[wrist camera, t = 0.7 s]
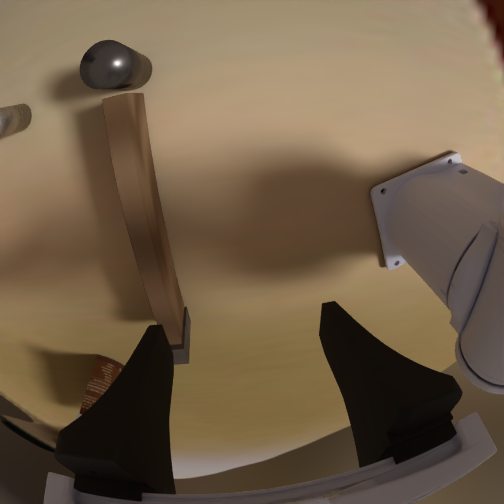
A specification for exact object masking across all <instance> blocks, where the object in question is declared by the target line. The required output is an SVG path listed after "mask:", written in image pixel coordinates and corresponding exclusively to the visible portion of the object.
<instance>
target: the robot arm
mask: <svg viewBox="0 0 504 504" xmlns="http://www.w3.org/2000/svg"><path fill="white" fill-rule="evenodd" d="M448 160H449V163H448ZM383 188H384V191H383V192H382V193H381V190H382V189H383ZM370 195H371V199H372V203H373V208H374V212H375V216H376V220H377V225H378V230H379V234H380V239H381V244H382V249H383V254H384V260H385V265H386V268H387V269H388V270H393V269H395V268H397V267H399V266H401V265H403V264H405V263H408V264H409V265H410V266H411V267H412V268H413V269H414V270H415V271H416V272H417V274H418V275H419V276H420V277H421V278H422V279H423V280H424V281H425V282H426V283H427V285H428V286H429V287H430V288H431V289H432V290H433V291H434V292H435V294H436V295H437V296H438V297H439V298H440V299H441V301H442V302H443V303H444V304H445V305H446V306H447V308H448V309H449V310H450V311H451V314H452V317H451V321H450V324H451V325H452V327H453V328H454V329H455V330H456V332H457V333H458V334H459V335H458V337H457V340H456V344H455V355H456V359H457V363H458V365H459V367H460V369H461V371H462V372H463V374H464V375H465V376H466V377H467V379H468V380H469V381H471V382H472V383H473V384H474V385H475V386H477V387H479V388H480V389H482V390H484V391H487V392H490V393H494V394H504V184H503V183H501V182H499V181H497V180H495V179H494V178H492V177H490V176H488V175H486V174H484V173H482V172H480V171H477V170H475V169H473V168H471V167H469V166H467V165H465V164H463V163H462V159H461V155H460V153H458V152H453V153H451V154H448V155H446V156H444V157H441V158H439V159H437V160H434V161H432V162H430V163H427V164H425V165H423V166H420V167H418V168H416V169H413V170H411V171H409V172H407V173H404V174H402V175H400V176H397V177H395V178H393V179H390V180H388V181H386V182H384V183H381V184H379V185H377V186H374V187H373V188H372V189H371V192H370ZM396 261H397V262H396ZM395 262H396V263H395ZM319 336H320V340H321V343H322V347H323V350H324V353H325V356H326V358H327V361H328V363H329V365H330V368H331V370H332V372H333V374H334V377H335V379H336V381H337V384H338V386H339V388H340V391H341V393H342V396H343V399H344V402H345V406H346V409H347V413H348V416H349V420H350V424H351V428H352V431H353V436H354V440H355V445H356V450H357V456H358V460H359V467H360V468H358V469H355V470H352V471H348V472H345V473H341V474H338V475H334V476H330V477H326V478H322V479H318V480H314V481H309V482H304V483H300V484H295V485H290V486H283V487H277V488H272V489H264V490H256V491H247V492H236V493H224V494H200V495H199V494H198V495H178V494H176V491H175V485H174V478H173V471H172V462H171V451H170V433H169V415H170V404H171V395H172V385H173V376H174V357H173V352H172V349H171V347H170V344H169V341H168V339H167V336H166V333H165V331H164V328H163V325H162V324H160V325H149V327H148V328H147V330H146V332H145V333H144V335H143V337H142V339H141V340H140V342H139V344H138V345H137V347H136V349H135V350H134V352H133V354H132V355H131V357H130V359H129V360H128V362H127V363H126V365H125V366H124V368H123V369H122V371H121V372H120V373H119V375H118V376H117V378H116V379H115V380H114V382H113V383H112V384H111V385H110V387H109V388H108V389H107V390H106V391H105V392H104V394H103V395H102V396H101V397H100V398H99V399H98V400H97V401H96V402H95V403H94V404H93V405H92V406H91V407H90V408H89V409H88V410H87V411H86V412H84V413H83V414H82V415H81V416H80V417H79V418H77V419H76V420H75V421H73V422H72V423H71V424H69V425H68V426H66V427H65V428H64V429H62V430H61V431H60V432H59V436H58V440H57V444H56V449H55V455H54V457H55V458H56V460H57V461H58V462H59V463H61V464H62V465H63V466H65V467H66V468H68V469H69V470H71V471H72V472H74V473H75V479H73V478H70V477H67V476H63V475H59V474H55V473H51V472H49V473H48V478H47V484H46V490H45V497H44V504H413V503H415V502H417V501H419V500H421V499H423V498H425V497H427V496H429V495H431V494H433V493H435V492H436V491H438V490H440V489H442V488H444V487H446V486H447V485H449V484H451V483H452V482H454V481H456V480H458V479H459V478H461V477H463V476H464V475H466V474H467V473H469V472H471V471H472V470H473V469H475V468H476V467H478V466H479V465H480V464H481V463H483V462H484V461H485V460H487V459H488V458H489V457H491V456H492V455H493V454H495V453H496V452H497V449H496V447H495V445H494V443H493V441H492V439H491V437H490V435H489V433H488V432H487V430H486V428H485V426H484V425H483V423H482V421H481V419H480V417H479V415H478V414H477V412H474V413H472V414H471V415H469V416H467V417H465V418H464V419H462V420H460V421H458V422H457V423H456V424H455V425H453V424H452V422H451V420H452V419H453V416H452V415H451V410H452V409H453V408H454V407H455V405H456V404H457V403H458V401H459V400H460V398H461V396H462V390H461V388H460V387H459V385H458V384H457V382H456V380H455V379H454V378H453V376H450V375H447V374H444V373H441V372H438V371H435V370H432V369H430V368H427V367H425V366H423V365H420V364H418V363H416V362H414V361H412V360H410V359H408V358H406V357H404V356H403V355H401V354H399V353H398V352H396V351H394V350H393V349H391V348H390V347H388V346H387V345H385V344H384V343H382V342H381V341H380V340H378V339H377V338H376V337H374V336H373V335H372V334H371V333H369V332H368V331H367V330H366V329H365V328H364V327H362V326H361V325H360V324H359V323H358V322H357V321H356V320H354V319H353V318H352V317H351V316H350V315H349V314H348V313H347V312H346V311H345V310H344V309H343V308H342V307H341V306H340V305H339V304H337V303H336V302H335V301H332V302H327V303H322V310H321V320H320V330H319ZM338 491H340V493H339V494H340V495H337V496H333V497H327V498H326V497H319V496H323V495H327V494H331V493H335V492H338ZM315 497H319V498H315ZM310 498H312V499H310ZM290 502H291V503H290Z"/></svg>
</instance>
